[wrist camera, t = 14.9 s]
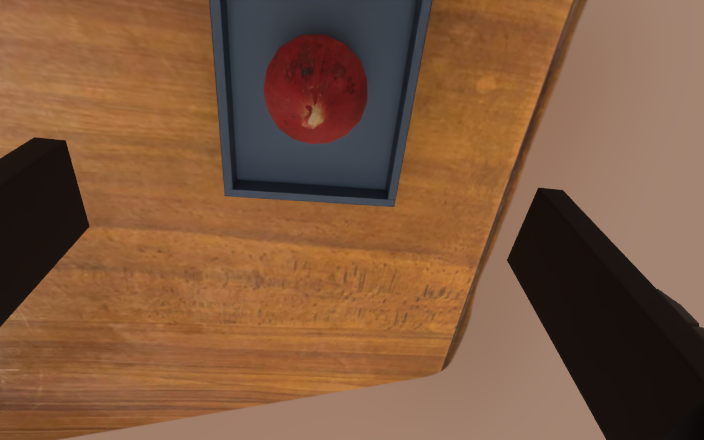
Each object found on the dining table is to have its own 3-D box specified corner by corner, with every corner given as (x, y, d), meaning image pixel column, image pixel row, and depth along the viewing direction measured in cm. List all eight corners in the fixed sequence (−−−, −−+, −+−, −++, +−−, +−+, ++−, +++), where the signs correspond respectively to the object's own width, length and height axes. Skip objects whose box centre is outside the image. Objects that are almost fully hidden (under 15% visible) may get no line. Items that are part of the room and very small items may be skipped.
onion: (265, 28, 24) (240, 55, 18) (361, 21, 24) (372, 46, 18) (279, 122, 27) (263, 175, 21) (364, 116, 28) (375, 167, 21)
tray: (210, -110, 21) (200, -116, 19) (438, -80, 22) (447, -83, 21) (230, 182, 30) (224, 196, 29) (390, 193, 32) (394, 207, 30)
